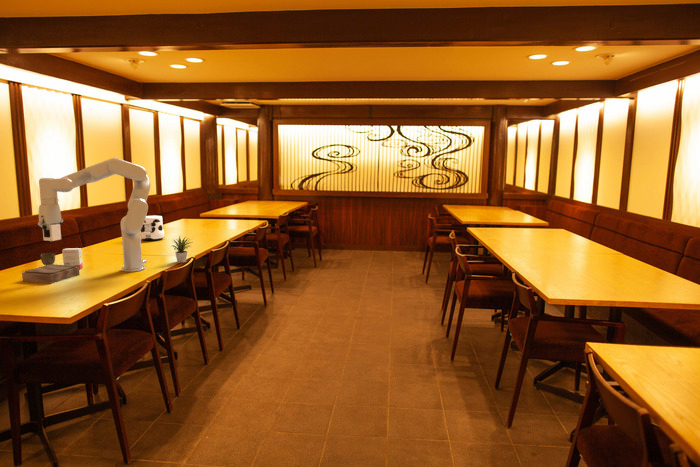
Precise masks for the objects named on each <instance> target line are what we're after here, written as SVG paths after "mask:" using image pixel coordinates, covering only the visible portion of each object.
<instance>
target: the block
mask: <svg viewBox="0 0 700 467" xmlns="http://www.w3.org/2000/svg"><path fill="white" fill-rule="evenodd" d="M45 226H46V225H45ZM48 230H50V237H44V230H43V229H42V235H43V241H45V242H46V241H49V242H54V241H60V240H62V233H61V232H62V231H61V226H60V224H49V229H48Z"/></svg>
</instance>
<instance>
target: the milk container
mask: <svg viewBox="0 0 700 467" xmlns="http://www.w3.org/2000/svg"><path fill="white" fill-rule="evenodd" d="M163 223H164V221H163V216H162V215H146V218H145V221H144V223H143V226H142V229H141V230H140V237H141V240H143V241H144V240H145V241H158V240H159V241H160V240H162V239H164V238H165V230H164V226H163V225H164V224H163Z"/></svg>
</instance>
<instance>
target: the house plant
mask: <svg viewBox="0 0 700 467" xmlns="http://www.w3.org/2000/svg"><path fill="white" fill-rule="evenodd" d="M192 240H193V238H192V239H190V237H188V238H186V237H184V238H182V239H181V235H179V237H178V239H177V238H175V239H173V240H172V242H173V243H174V244H175V245H174V244H173V245H171V247H173V248H174V251H175V250H177V251H175V252H174V253H175V257H176V261H177V263H180V264H181V263H186V262H187V258H188V257H187V256H188V251H187V250H188V249H189V248H191V243H194V242H193V241H192ZM191 241H192V242H191ZM186 249H187V250H186Z"/></svg>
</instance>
